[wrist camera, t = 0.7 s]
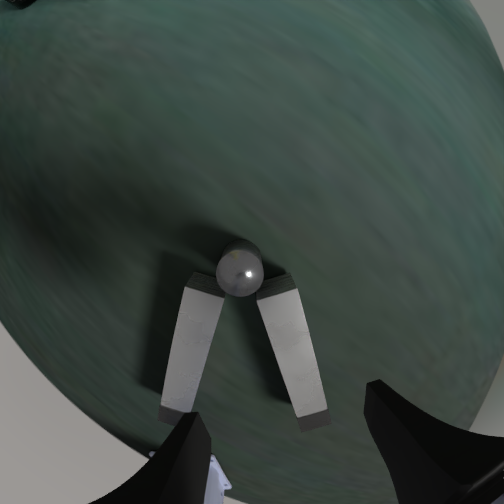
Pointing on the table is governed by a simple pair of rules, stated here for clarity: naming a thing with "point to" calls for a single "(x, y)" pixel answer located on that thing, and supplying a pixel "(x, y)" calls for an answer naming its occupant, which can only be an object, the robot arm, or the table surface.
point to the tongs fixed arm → (204, 323)
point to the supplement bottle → (21, 3)
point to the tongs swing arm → (293, 349)
